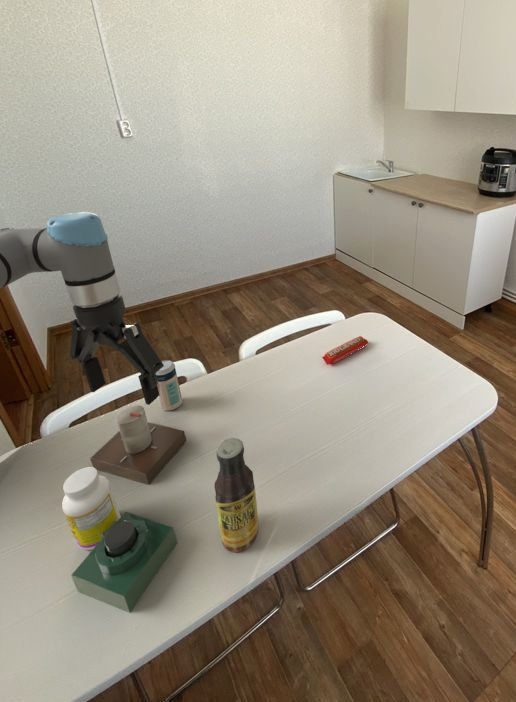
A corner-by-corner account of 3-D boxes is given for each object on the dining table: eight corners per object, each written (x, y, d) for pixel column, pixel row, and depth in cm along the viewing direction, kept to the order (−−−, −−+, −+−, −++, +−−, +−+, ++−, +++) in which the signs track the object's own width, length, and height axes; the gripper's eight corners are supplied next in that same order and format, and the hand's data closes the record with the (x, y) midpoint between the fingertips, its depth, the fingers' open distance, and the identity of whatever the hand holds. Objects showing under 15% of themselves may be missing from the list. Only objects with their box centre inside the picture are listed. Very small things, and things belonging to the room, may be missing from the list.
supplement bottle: (82, 521, 69) (62, 469, 64) (124, 507, 71) (107, 455, 67) (72, 559, 63) (49, 504, 59) (118, 542, 66) (100, 488, 61)
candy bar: (328, 368, 108) (328, 359, 107) (321, 362, 111) (320, 353, 110) (370, 345, 118) (370, 337, 117) (362, 340, 121) (362, 332, 120)
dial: (119, 450, 80) (110, 419, 77) (138, 432, 84) (130, 402, 81) (139, 456, 78) (130, 424, 75) (157, 436, 83) (149, 406, 80)
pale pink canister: (169, 397, 98) (160, 358, 94) (186, 398, 98) (178, 359, 94) (157, 411, 94) (147, 370, 90) (175, 412, 93) (166, 372, 89)
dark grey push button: (101, 552, 59) (97, 544, 58) (122, 527, 62) (119, 518, 62) (122, 560, 58) (118, 551, 57) (142, 533, 61) (140, 525, 61)
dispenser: (77, 592, 59) (66, 566, 57) (130, 527, 68) (122, 503, 66) (130, 613, 56) (120, 587, 54) (177, 542, 65) (171, 518, 63)
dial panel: (93, 469, 79) (89, 457, 78) (135, 428, 89) (132, 417, 88) (149, 485, 75) (145, 473, 74) (186, 441, 85) (184, 430, 84)
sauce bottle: (223, 562, 62) (205, 473, 56) (220, 526, 68) (203, 440, 61) (264, 544, 65) (251, 457, 58) (258, 511, 70) (245, 427, 63)
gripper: (169, 296, 69) (190, 391, 76) (65, 282, 75) (93, 371, 83) (136, 317, 62) (162, 419, 69) (24, 300, 69) (59, 395, 76)
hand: (125, 393), depth 76 cm, fingers open, 13 cm apart
